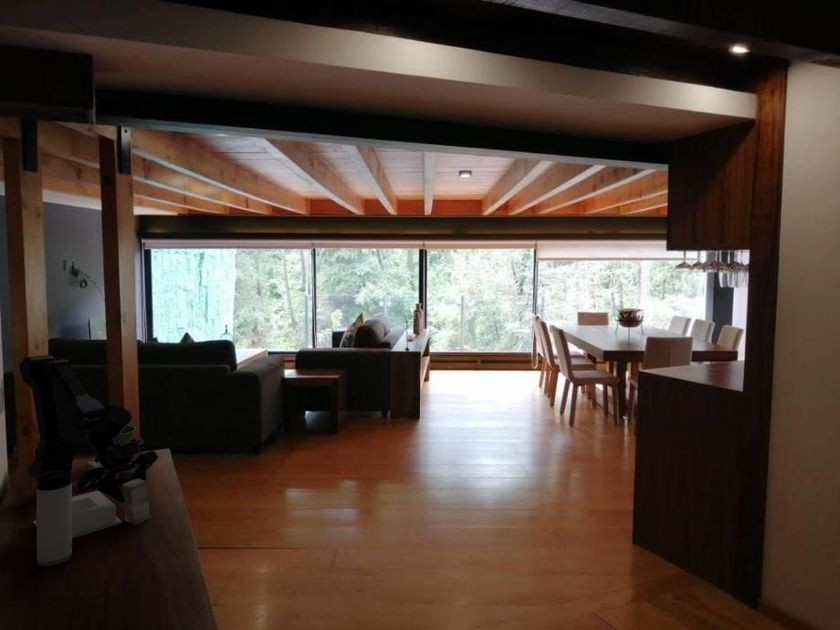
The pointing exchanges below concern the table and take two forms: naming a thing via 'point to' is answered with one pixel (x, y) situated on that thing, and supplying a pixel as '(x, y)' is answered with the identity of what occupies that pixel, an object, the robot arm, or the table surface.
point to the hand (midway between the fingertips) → (135, 497)
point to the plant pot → (126, 434)
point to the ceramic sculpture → (95, 465)
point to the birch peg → (136, 501)
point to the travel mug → (54, 515)
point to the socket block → (91, 513)
